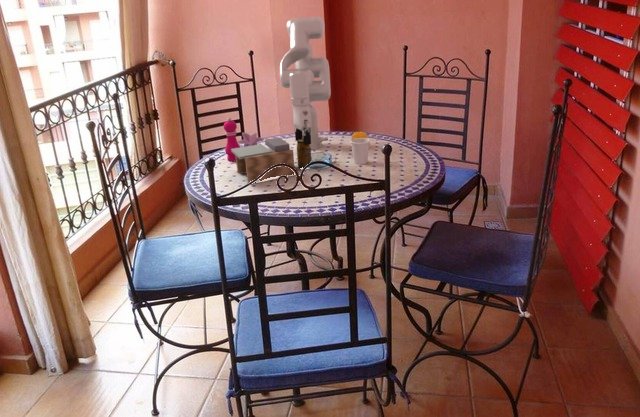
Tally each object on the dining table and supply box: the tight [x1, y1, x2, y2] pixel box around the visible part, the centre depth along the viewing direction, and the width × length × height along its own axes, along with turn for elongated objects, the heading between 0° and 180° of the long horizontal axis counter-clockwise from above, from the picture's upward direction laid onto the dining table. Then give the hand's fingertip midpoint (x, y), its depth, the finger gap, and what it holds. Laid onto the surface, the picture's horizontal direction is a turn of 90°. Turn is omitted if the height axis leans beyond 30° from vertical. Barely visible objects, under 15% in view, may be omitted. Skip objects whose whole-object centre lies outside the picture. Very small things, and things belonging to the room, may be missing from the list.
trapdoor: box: [231, 137, 291, 159], centre depth 227 cm, size 21×14×4 cm, turn 113°
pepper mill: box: [223, 117, 241, 163], centre depth 251 cm, size 7×7×20 cm
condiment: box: [294, 139, 312, 171], centre depth 235 cm, size 7×8×12 cm
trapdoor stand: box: [235, 142, 299, 184], centre depth 229 cm, size 21×18×11 cm
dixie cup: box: [350, 137, 370, 166], centre depth 236 cm, size 8×8×10 cm
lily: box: [237, 132, 266, 147], centre depth 267 cm, size 12×12×10 cm
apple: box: [350, 131, 369, 141], centre depth 260 cm, size 8×8×8 cm
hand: (303, 142), depth 232 cm, fingers open, 9 cm apart
